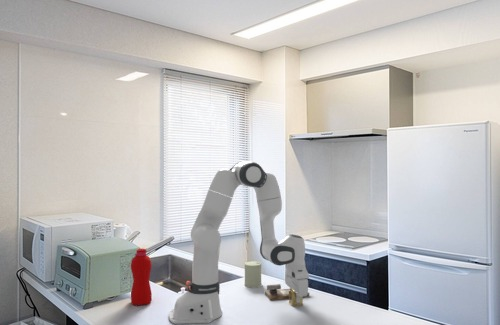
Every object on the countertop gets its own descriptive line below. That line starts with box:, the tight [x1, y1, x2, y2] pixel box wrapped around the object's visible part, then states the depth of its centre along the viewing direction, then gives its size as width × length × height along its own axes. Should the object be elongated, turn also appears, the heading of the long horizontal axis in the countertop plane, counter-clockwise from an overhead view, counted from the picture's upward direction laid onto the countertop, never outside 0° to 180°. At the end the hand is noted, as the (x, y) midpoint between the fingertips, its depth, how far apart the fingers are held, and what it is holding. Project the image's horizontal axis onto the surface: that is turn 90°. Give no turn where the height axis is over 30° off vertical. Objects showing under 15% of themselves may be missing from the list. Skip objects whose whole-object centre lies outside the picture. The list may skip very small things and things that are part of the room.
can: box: [243, 260, 263, 289], centre depth 205 cm, size 9×9×12 cm
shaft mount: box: [264, 283, 310, 301], centre depth 189 cm, size 20×9×6 cm, turn 104°
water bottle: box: [126, 248, 153, 306], centre depth 180 cm, size 9×11×25 cm
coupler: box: [288, 290, 304, 307], centre depth 177 cm, size 5×4×6 cm
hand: (295, 299), depth 177 cm, fingers closed on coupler, 4 cm apart
